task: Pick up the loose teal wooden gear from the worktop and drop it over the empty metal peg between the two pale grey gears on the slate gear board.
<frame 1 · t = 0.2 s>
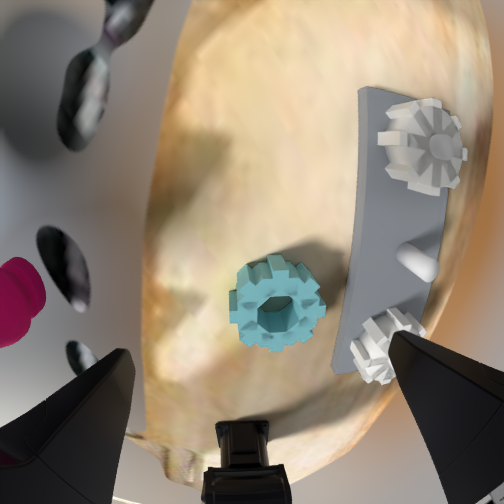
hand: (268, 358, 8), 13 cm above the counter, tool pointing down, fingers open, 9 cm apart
pepper mill: (26, 283, 21), on the counter
teal gear: (273, 295, 23), on the counter
gear board: (394, 246, 22), on the counter
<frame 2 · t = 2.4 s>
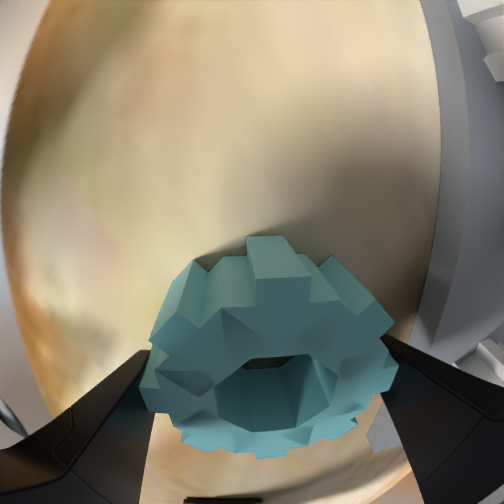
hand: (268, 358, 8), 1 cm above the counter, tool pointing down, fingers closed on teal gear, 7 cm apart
teal gear: (263, 335, 9), on the counter, touching gripper
gear board: (494, 225, 9), on the counter
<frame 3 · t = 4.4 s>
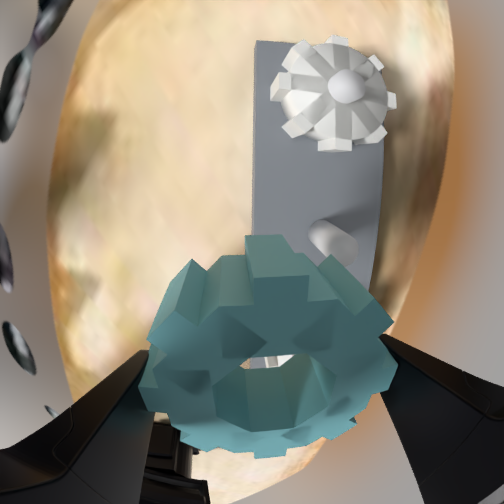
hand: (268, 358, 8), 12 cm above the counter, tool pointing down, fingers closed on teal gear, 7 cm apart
teal gear: (262, 335, 9), point 11 cm above the counter, touching gripper
gear board: (314, 227, 19), on the counter
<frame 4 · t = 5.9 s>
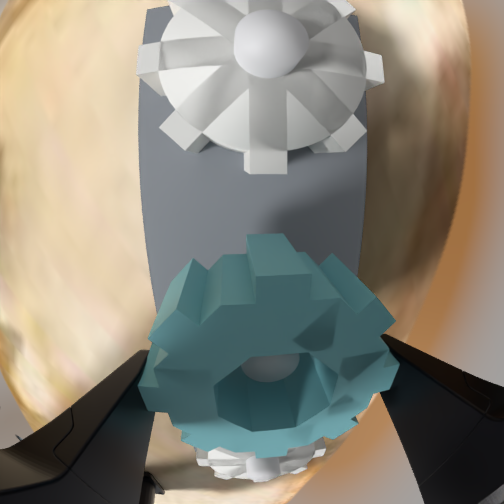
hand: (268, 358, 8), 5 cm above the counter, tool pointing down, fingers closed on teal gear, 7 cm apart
teal gear: (263, 334, 9), point 4 cm above the counter, touching gripper
gear board: (254, 285, 13), on the counter
when the fingers open (5 cm above the counter, at t = 6.9 s): teal gear drops 2 cm, resting on gear board.
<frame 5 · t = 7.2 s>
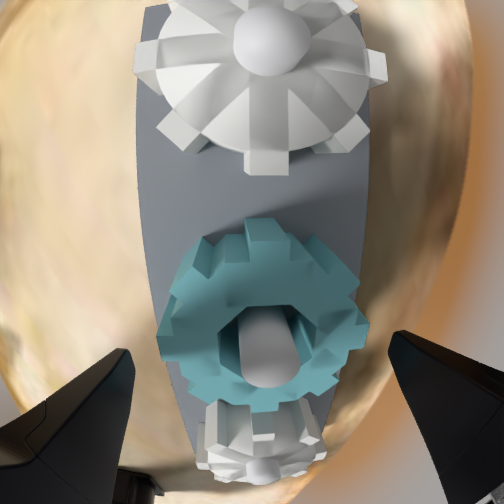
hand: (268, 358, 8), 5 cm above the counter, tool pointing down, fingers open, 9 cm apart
teal gear: (258, 302, 11), point 1 cm above the counter, touching gear board
gear board: (254, 288, 13), on the counter
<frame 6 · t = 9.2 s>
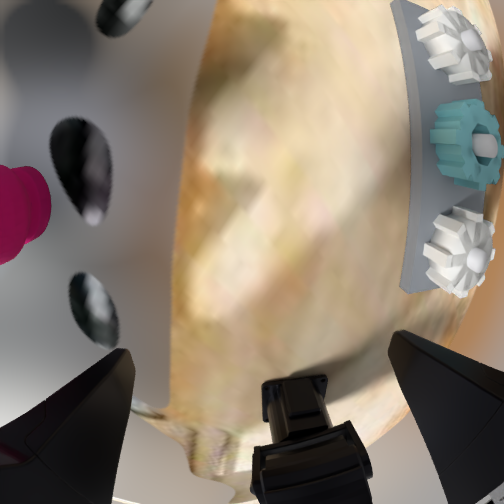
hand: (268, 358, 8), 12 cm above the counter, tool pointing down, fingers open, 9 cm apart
pepper mill: (28, 202, 17), on the counter
teal gear: (458, 142, 16), point 1 cm above the counter, touching gear board
gear board: (447, 142, 18), on the counter
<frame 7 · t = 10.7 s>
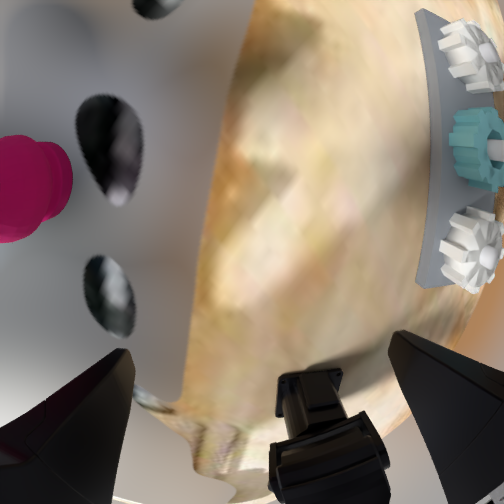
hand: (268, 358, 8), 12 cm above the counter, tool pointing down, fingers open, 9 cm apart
pepper mill: (46, 180, 17), on the counter
teal gear: (473, 147, 17), point 1 cm above the counter, touching gear board
gear board: (462, 147, 18), on the counter
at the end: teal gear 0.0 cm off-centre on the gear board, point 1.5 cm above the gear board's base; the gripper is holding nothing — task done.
